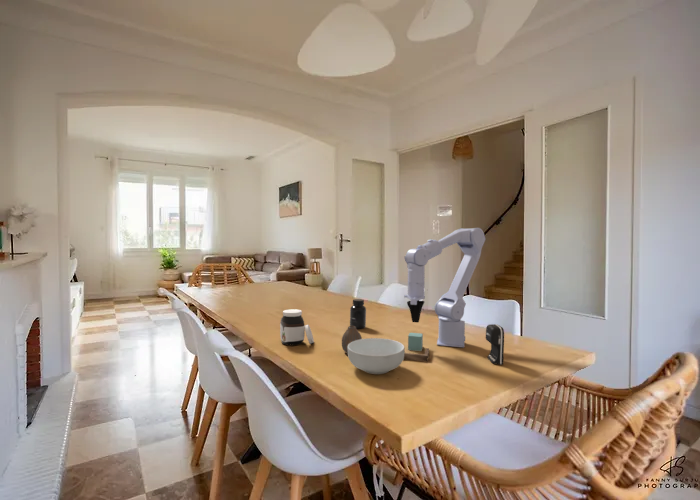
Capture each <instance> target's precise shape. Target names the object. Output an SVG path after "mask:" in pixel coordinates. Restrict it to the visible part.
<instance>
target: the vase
mask: <svg viewBox="0 0 700 500" xmlns="http://www.w3.org/2000/svg"><path fill="white" fill-rule="evenodd" d="M360 339H363V337H362V335H361V333H360V332H359V329H356V327H355V326H350V325H349V326H348V327H347V329H346V331H345V332H344V333H343V334H342V337H341V347H342V350H343V352H345V354H347V355H348V351H347V349H348V348H347V347H348V344H349V343H351V342H353V341H355V340H360Z"/></svg>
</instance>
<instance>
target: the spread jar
mask: <svg viewBox="0 0 700 500" xmlns="http://www.w3.org/2000/svg"><path fill="white" fill-rule="evenodd" d="M302 314H303V311H302V310H301V309H296V308H294V309H293V308H292V309H284V310H283V311H282V317H281V318H280V323H279V327H280V328H279V329H280V331H279V334H280V336H279V337H280V341H281V343H282V344H283V345H285V346H298V345H301V344H302V343H304V341H305V334H306V338H307V341H308V343H309V344H314V343H315V340H314V335H313V332H312V329H311V327H310V325H309V324H305V320H304V318H303V316H302Z"/></svg>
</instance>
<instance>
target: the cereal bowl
mask: <svg viewBox="0 0 700 500" xmlns="http://www.w3.org/2000/svg"><path fill="white" fill-rule="evenodd" d="M347 348H348V349H347V351H348V354H347V356H348V360H349V362H350V363H351V364H352V365H353V366H354V367H356V368H357V369H359V370H361V371H363V372H365V373H367V374H371V375H383V374H387V373H389V371H392V370H395V369H396V368H398V367H399V366H400V365H401V364H402V363H403V361H404V360H405V359H404V353H406V351H405V345H404V344H403V343H402V342H400V341H397V340H394V339H389V338H381V337H374V338H373V337H371V338H362V339H360V340H355V341H353V342H351V343H349V344H348V347H347Z"/></svg>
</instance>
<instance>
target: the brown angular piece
mask: <svg viewBox="0 0 700 500" xmlns="http://www.w3.org/2000/svg"><path fill="white" fill-rule="evenodd" d="M429 355H430V348H427V347H425V351H424V353H420V354H419V353H414V352H413V353H412V352H405V353H404V359H403V360H408V361H418V362H419V361H420V362H428V361H429V357H430V356H429Z"/></svg>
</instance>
